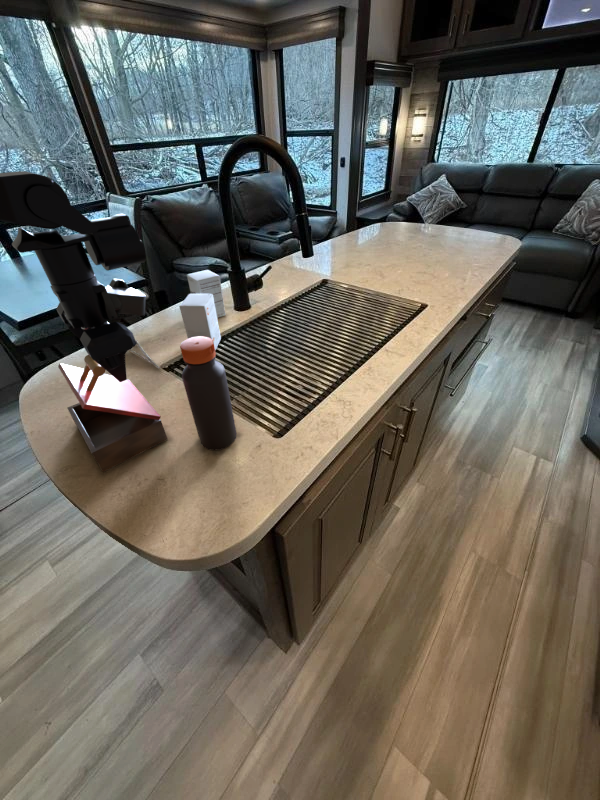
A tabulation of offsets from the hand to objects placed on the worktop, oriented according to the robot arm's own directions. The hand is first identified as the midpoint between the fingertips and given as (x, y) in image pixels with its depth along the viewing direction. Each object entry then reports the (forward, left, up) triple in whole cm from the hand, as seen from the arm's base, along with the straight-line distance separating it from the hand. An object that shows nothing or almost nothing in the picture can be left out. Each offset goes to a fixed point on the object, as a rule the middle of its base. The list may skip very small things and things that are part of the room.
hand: (113, 369), depth 57 cm
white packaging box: (+37, +36, -13) cm, 53 cm away
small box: (+26, +19, -13) cm, 35 cm away
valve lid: (-2, 0, -4) cm, 5 cm away
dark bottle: (+10, -14, -13) cm, 22 cm away
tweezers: (+11, +25, -13) cm, 30 cm away
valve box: (-3, 0, -13) cm, 13 cm away
